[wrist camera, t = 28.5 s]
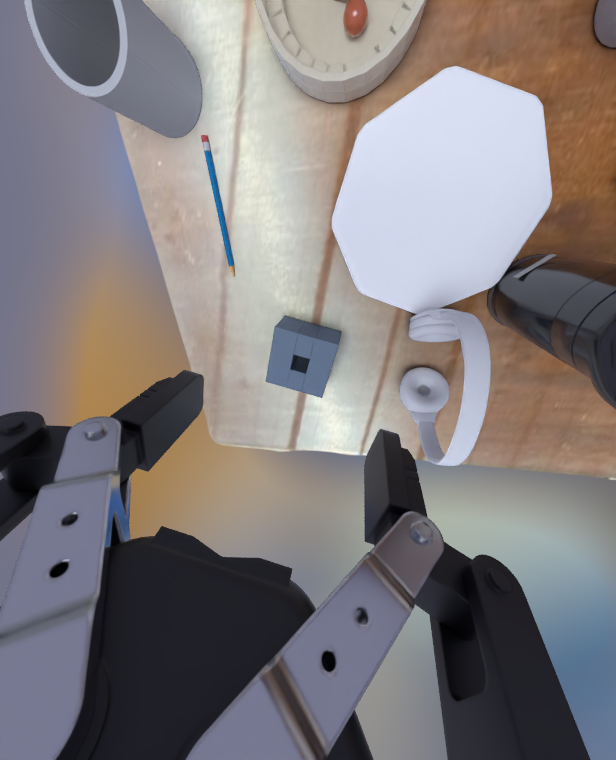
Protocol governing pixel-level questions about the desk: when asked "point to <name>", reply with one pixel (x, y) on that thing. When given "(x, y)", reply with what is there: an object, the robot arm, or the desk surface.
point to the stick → (344, 0)
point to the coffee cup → (606, 22)
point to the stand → (302, 356)
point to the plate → (443, 191)
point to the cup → (120, 60)
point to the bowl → (339, 43)
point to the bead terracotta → (355, 17)
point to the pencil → (217, 201)
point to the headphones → (431, 390)
